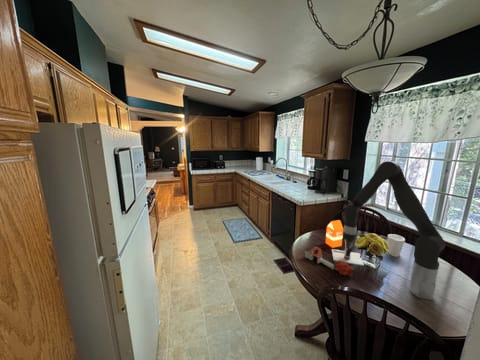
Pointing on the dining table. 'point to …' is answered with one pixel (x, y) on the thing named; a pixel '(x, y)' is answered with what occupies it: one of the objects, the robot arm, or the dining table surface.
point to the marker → (345, 253)
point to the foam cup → (395, 244)
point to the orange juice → (334, 234)
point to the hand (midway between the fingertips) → (347, 254)
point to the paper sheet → (340, 256)
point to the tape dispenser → (318, 254)
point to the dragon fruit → (343, 268)
